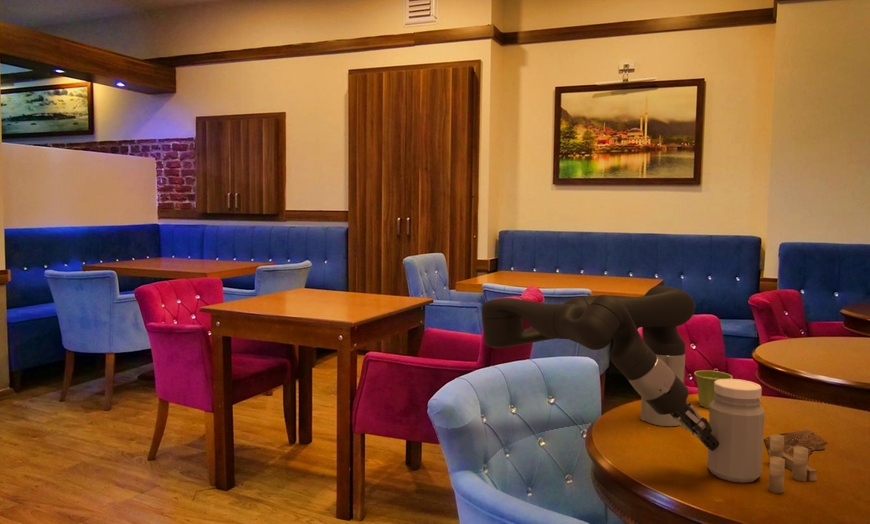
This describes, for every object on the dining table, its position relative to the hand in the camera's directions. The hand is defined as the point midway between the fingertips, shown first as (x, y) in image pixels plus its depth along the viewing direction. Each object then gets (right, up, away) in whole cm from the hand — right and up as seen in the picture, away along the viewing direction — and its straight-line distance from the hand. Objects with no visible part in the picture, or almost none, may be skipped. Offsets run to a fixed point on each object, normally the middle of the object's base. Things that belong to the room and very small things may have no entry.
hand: (714, 446), depth 123 cm
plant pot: (+20, -3, +47) cm, 51 cm away
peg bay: (+13, -6, +3) cm, 14 cm away
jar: (+5, -6, +2) cm, 8 cm away
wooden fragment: (+26, -6, +19) cm, 33 cm away
